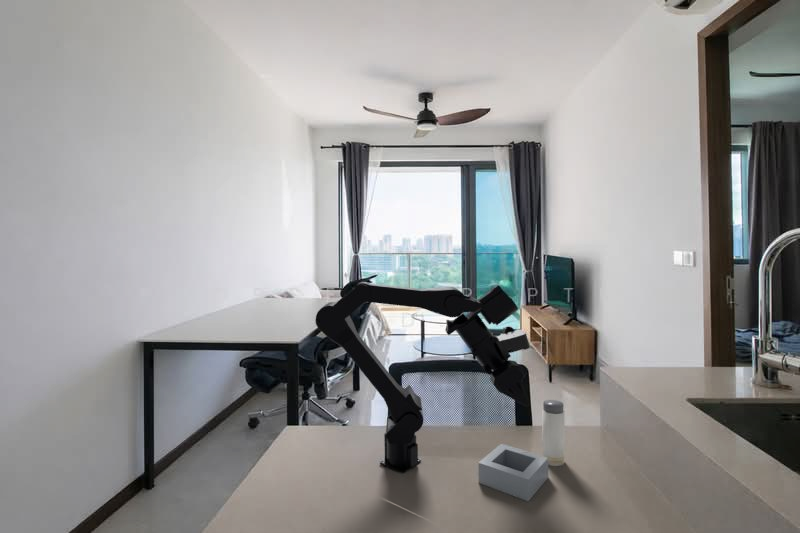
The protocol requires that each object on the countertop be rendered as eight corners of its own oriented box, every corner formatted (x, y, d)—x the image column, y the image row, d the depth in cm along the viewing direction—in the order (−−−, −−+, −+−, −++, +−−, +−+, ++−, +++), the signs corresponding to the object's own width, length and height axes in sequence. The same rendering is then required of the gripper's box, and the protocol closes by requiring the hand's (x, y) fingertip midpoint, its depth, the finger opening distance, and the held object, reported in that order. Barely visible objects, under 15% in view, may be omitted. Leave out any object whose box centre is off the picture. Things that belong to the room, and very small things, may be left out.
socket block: (478, 482, 84) (478, 462, 84) (501, 461, 92) (501, 443, 91) (528, 501, 78) (528, 479, 77) (548, 477, 85) (548, 457, 85)
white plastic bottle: (538, 461, 91) (538, 404, 91) (546, 453, 95) (546, 397, 94) (560, 468, 89) (560, 408, 88) (567, 459, 92) (567, 402, 91)
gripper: (522, 324, 81) (570, 389, 82) (499, 309, 100) (538, 362, 100) (474, 358, 81) (522, 423, 82) (460, 337, 100) (499, 390, 101)
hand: (521, 397), depth 91 cm, fingers open, 9 cm apart
